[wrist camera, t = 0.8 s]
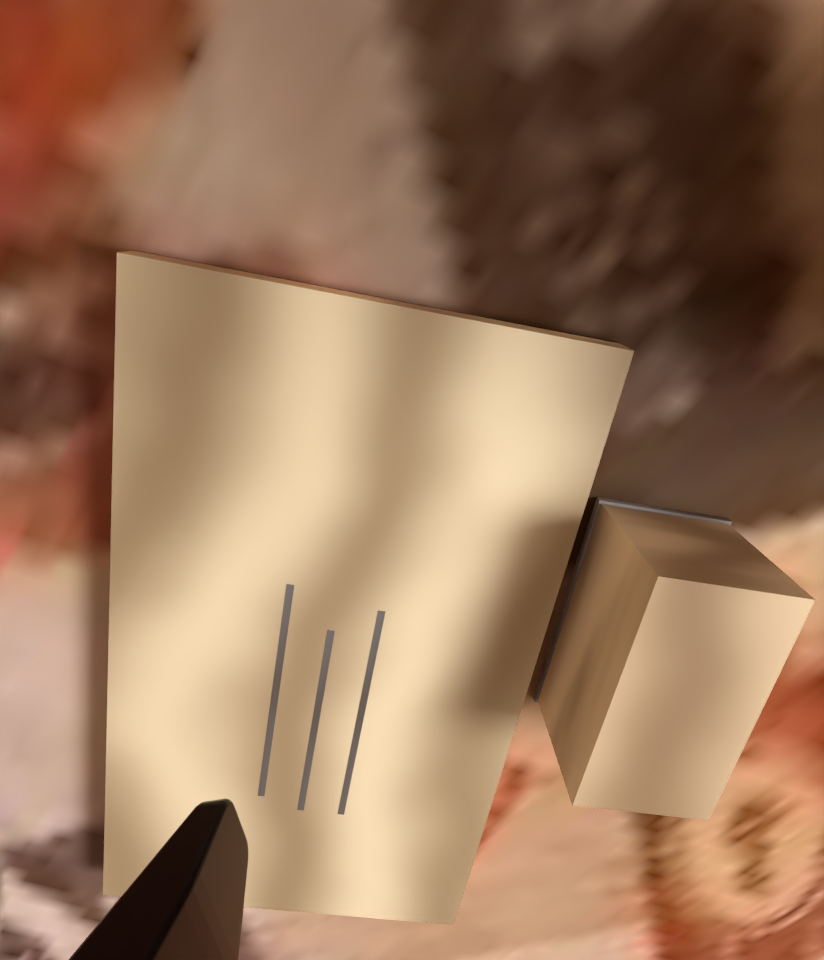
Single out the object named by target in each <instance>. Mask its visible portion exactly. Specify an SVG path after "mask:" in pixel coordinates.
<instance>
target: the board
mask: <svg viewBox="0 0 824 960" xmlns="http://www.w3.org/2000/svg"><path fill="white" fill-rule="evenodd" d="M633 354H634V351H633V350H631V349H630V348H628V347H626V346H624V345H622V344H620V343H615V342H609V341H604V340H599V339H594V338H588V337H583V336H578V335H573V334H568V333H562V332H557V331H552V330H547V329H541V328H536V327H531V326H526V325H521V324H515V323H510V322H505V321H500V320H494V319H489V318H484V317H479V316H474V315H468V314H463V313H458V312H453V311H447V310H442V309H437V308H432V307H427V306H421V305H416V304H411V303H406V302H400V301H395V300H390V299H385V298H380V297H374V296H369V295H364V294H359V293H353V292H348V291H343V290H338V289H333V288H327V287H322V286H317V285H312V284H306V283H301V282H296V281H291V280H285V279H280V278H275V277H270V276H265V275H259V274H254V273H249V272H244V271H238V270H233V269H228V268H223V267H218V266H212V265H207V264H202V263H197V262H191V261H186V260H181V259H176V258H171V257H165V256H160V255H155V254H150V253H144V252H139V251H134V250H133V251H124V252H117V270H116V316H115V363H114V409H113V455H112V501H111V547H110V594H109V640H108V686H107V732H106V778H105V825H104V871H103V895H111V896H122V895H123V894H124V892H125V891H126V890H127V889H128V888H129V886H130V885H131V884H132V883H133V882H134V880H135V879H136V878H137V877H138V876H139V874H140V873H141V872H142V871H143V870H144V868H145V867H146V866H147V865H148V864H149V862H150V861H151V860H152V859H153V858H154V856H155V855H156V854H157V853H158V852H159V850H160V849H161V848H162V847H163V846H164V844H165V843H166V842H167V841H168V839H169V838H170V837H171V836H172V835H173V833H174V832H175V831H176V830H177V829H178V827H179V826H180V825H181V824H182V823H183V821H184V820H185V819H186V818H187V817H188V815H189V814H190V813H191V812H192V811H193V809H194V808H195V807H196V806H197V805H199V804H200V803H202V802H205V801H212V800H219V799H229V800H231V801H232V802H233V804H234V806H235V809H236V812H237V814H238V817H239V820H240V822H241V825H242V828H243V831H244V833H245V836H246V839H247V843H248V868H247V878H246V888H245V898H244V907H250V908H262V909H273V910H285V911H297V912H308V913H320V914H331V915H343V916H354V917H366V918H378V919H389V920H401V921H412V922H424V923H436V924H447V925H454V922H455V919H456V916H457V913H458V910H459V906H460V903H461V900H462V897H463V894H464V890H465V887H466V884H467V881H468V878H469V875H470V871H471V868H472V865H473V862H474V859H475V856H476V852H477V849H478V846H479V843H480V840H481V836H482V833H483V830H484V827H485V824H486V821H487V817H488V814H489V811H490V808H491V805H492V802H493V798H494V795H495V792H496V789H497V786H498V782H499V779H500V776H501V773H502V770H503V767H504V763H505V760H506V757H507V754H508V751H509V748H510V744H511V741H512V738H513V735H514V732H515V728H516V725H517V722H518V719H519V716H520V713H521V709H522V706H523V703H524V700H525V697H526V694H527V690H528V687H529V684H530V681H531V678H532V674H533V671H534V668H535V665H536V662H537V659H538V655H539V652H540V649H541V646H542V643H543V640H544V636H545V633H546V630H547V627H548V624H549V621H550V617H551V614H552V611H553V608H554V605H555V601H556V598H557V595H558V592H559V589H560V586H561V582H562V579H563V576H564V573H565V570H566V567H567V563H568V560H569V557H570V554H571V551H572V547H573V544H574V541H575V538H576V535H577V532H578V528H579V525H580V522H581V519H582V516H583V513H584V509H585V506H586V503H587V500H588V497H589V493H590V490H591V487H592V484H593V481H594V478H595V474H596V471H597V468H598V465H599V462H600V459H601V455H602V452H603V449H604V446H605V443H606V439H607V436H608V433H609V430H610V427H611V424H612V420H613V417H614V414H615V411H616V408H617V405H618V401H619V398H620V395H621V392H622V389H623V385H624V382H625V379H626V376H627V373H628V370H629V366H630V363H631V360H632V357H633Z"/></svg>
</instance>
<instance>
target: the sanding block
mask: <svg viewBox="0 0 824 960" xmlns="http://www.w3.org/2000/svg"><path fill="white" fill-rule="evenodd" d="M731 523H732V521H731V520H729V519H728V518H722V517H716V516H710V515H704V514H698V513H691V512H685V511H679V510H673V509H667V508H661V507H655V506H648V505H642V504H636V503H630V502H624V501H618V500H612V499H605V498H599V497H597V499H596V502H595V505H594V508H593V511H592V515H591V518H590V521H589V524H588V527H587V530H586V533H585V536H584V540H583V543H582V546H581V549H580V552H579V555H578V558H577V562H576V565H575V568H574V571H573V574H572V577H571V580H570V583H569V587H568V590H567V593H566V596H565V599H564V602H563V605H562V608H561V612H560V615H559V618H558V621H557V624H556V627H555V630H554V634H553V637H552V640H551V643H550V646H549V649H548V652H547V655H546V659H545V662H544V665H543V668H542V671H541V674H540V677H539V680H538V684H537V687H536V690H535V693H534V696H533V698H534V701H535V702H539V705H540V708H541V711H542V714H543V717H544V720H545V723H546V726H547V729H548V732H549V735H550V738H551V741H552V744H553V748H554V751H555V754H556V757H557V760H558V763H559V766H560V769H561V772H562V775H563V778H564V781H565V784H566V787H567V791H568V794H569V797H570V800H571V803H572V806H581V807H591V808H600V809H609V810H619V811H628V812H637V813H646V814H656V815H665V816H674V817H684V818H693V819H702V820H709V819H710V816H711V814H712V812H713V810H714V808H715V806H716V804H717V802H718V800H719V798H720V796H721V794H722V792H723V790H724V788H725V785H726V783H727V781H728V779H729V777H730V775H731V773H732V771H733V769H734V767H735V765H736V763H737V761H738V759H739V757H740V755H741V752H742V750H743V748H744V746H745V744H746V742H747V740H748V738H749V736H750V734H751V732H752V730H753V728H754V726H755V724H756V721H757V719H758V717H759V715H760V713H761V711H762V709H763V707H764V705H765V703H766V701H767V699H768V697H769V695H770V693H771V690H772V688H773V686H774V684H775V682H776V680H777V678H778V676H779V674H780V672H781V670H782V668H783V666H784V664H785V662H786V659H787V657H788V655H789V653H790V651H791V649H792V647H793V645H794V643H795V641H796V639H797V637H798V635H799V633H800V631H801V628H802V626H803V624H804V622H805V620H806V618H807V616H808V614H809V612H810V610H811V608H812V606H813V604H814V602H815V599H814V598H813V597H811V596H810V595H809V594H808V593H807V592H806V591H804V590H803V589H802V588H801V587H800V586H799V585H798V584H796V583H795V582H794V581H793V580H792V579H791V578H790V577H788V576H787V575H786V574H785V573H784V572H783V571H782V570H780V569H779V568H778V567H777V566H776V565H775V564H773V563H772V562H771V561H770V560H769V559H768V558H767V557H765V556H764V555H763V554H762V553H761V552H760V551H759V550H757V549H756V548H755V547H754V546H753V545H752V544H751V543H749V542H748V541H747V540H746V539H745V538H744V537H743V536H741V535H740V534H739V533H738V532H737V531H736V530H734V529H733V528H732V527H731Z"/></svg>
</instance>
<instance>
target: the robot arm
mask: <svg viewBox="0 0 824 960" xmlns="http://www.w3.org/2000/svg"><path fill="white" fill-rule="evenodd" d="M247 868H248V843H247V839H246V836H245V833H244V831H243V828H242V825H241V822H240V820H239V817H238V814H237V812H236V809H235V806H234V804H233V802H232V801H231V800H229V799H219V800H212V801H205V802H202V803H200V804H199V805H197V806H196V807H195V808H194V809H193V811H192V812H191V813H190V814H189V815H188V817H187V818H186V819H185V820H184V821H183V823H182V824H181V825H180V826H179V827H178V829H177V830H176V831H175V832H174V833H173V835H172V836H171V837H170V838H169V839H168V841H167V842H166V843H165V844H164V846H163V847H162V848H161V849H160V850H159V852H158V853H157V854H156V855H155V856H154V858H153V859H152V860H151V861H150V862H149V864H148V865H147V866H146V867H145V868H144V870H143V871H142V872H141V873H140V874H139V876H138V877H137V878H136V879H135V880H134V882H133V883H132V884H131V885H130V886H129V888H128V889H127V890H126V891H125V892H124V894H123V895H122V896H121V897H120V898H119V900H118V901H117V902H116V903H115V905H114V906H113V907H112V908H111V909H110V911H109V912H108V913H107V914H106V915H105V917H104V918H103V919H102V920H101V921H100V923H99V924H98V925H97V926H96V927H95V929H94V930H93V931H92V932H91V933H90V935H89V936H88V937H87V938H86V939H85V941H84V942H83V943H82V944H81V945H80V947H79V948H78V949H77V950H76V951H75V953H74V954H73V955H72V956H71V957H70V959H69V960H238V958H239V948H240V938H241V928H242V918H243V908H244V898H245V888H246V878H247Z"/></svg>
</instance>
